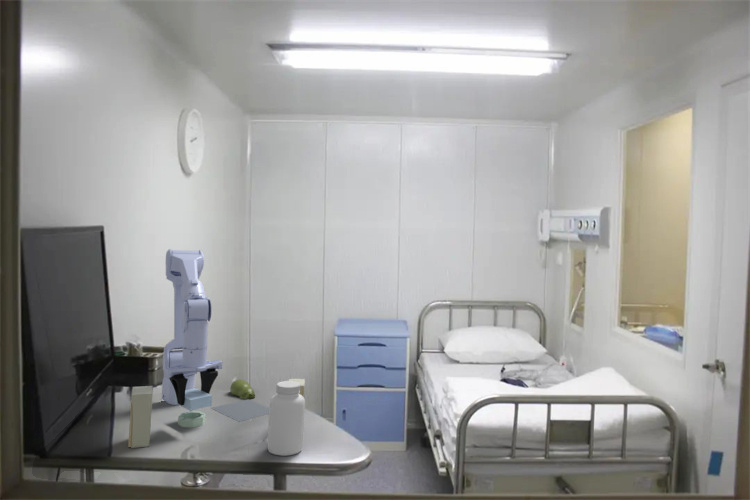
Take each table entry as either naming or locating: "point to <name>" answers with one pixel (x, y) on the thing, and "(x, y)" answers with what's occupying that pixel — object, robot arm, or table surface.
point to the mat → (242, 410)
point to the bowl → (192, 419)
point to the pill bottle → (286, 419)
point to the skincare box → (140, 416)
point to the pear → (242, 389)
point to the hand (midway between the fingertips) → (192, 401)
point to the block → (196, 399)
